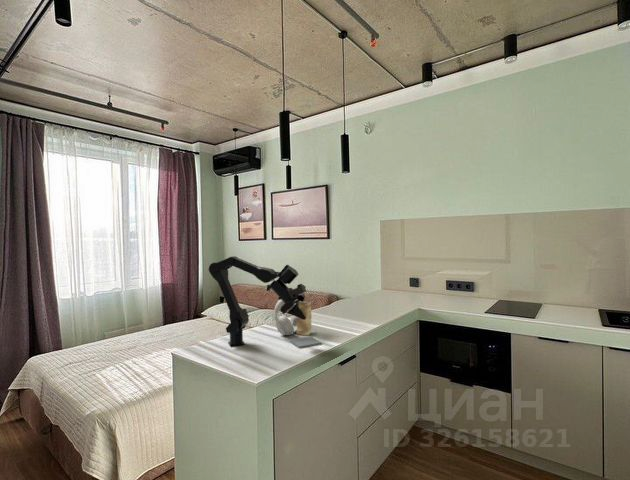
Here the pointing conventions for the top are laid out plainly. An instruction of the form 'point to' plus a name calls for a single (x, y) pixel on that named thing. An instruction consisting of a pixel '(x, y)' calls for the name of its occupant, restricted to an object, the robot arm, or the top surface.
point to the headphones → (285, 321)
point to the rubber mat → (305, 342)
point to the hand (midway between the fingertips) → (307, 317)
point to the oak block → (305, 325)
